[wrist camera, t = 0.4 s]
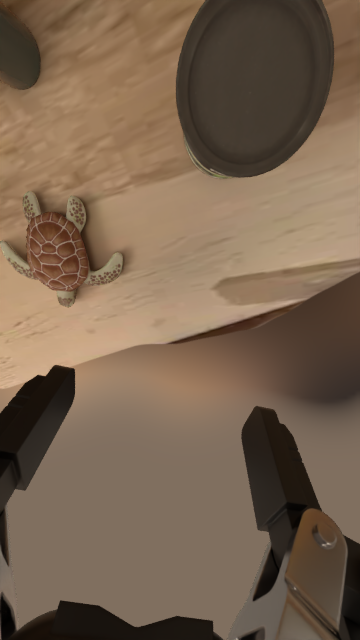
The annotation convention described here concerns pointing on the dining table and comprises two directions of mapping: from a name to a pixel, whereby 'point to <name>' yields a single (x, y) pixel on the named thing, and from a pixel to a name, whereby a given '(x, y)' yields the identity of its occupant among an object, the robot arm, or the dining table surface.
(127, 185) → the dining table surface
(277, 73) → the coffee can
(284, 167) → the dining table surface
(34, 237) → the decorative turtle
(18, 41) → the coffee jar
